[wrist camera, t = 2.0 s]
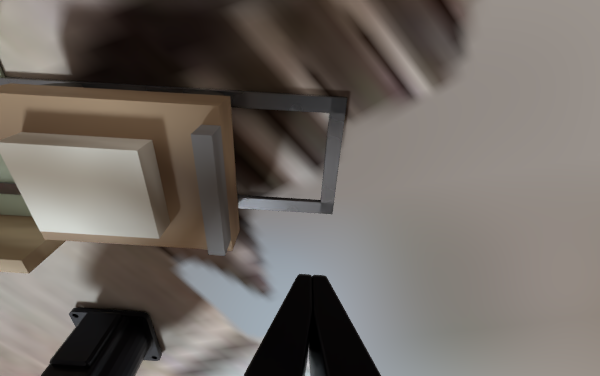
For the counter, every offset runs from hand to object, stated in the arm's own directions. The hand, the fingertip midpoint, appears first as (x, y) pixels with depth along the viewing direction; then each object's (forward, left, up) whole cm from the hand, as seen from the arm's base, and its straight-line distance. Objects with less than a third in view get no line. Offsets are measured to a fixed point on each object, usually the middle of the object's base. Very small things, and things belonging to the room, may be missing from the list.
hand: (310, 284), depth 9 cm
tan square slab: (0, +9, -9) cm, 13 cm away
